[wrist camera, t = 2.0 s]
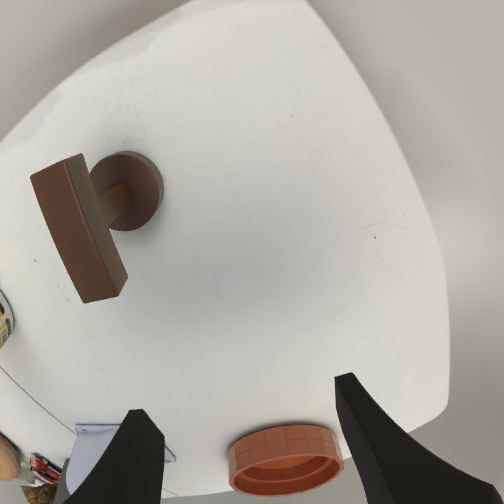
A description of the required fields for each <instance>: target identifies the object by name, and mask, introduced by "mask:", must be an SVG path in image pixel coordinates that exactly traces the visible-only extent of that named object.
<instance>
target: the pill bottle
mask: <svg viewBox="0 0 504 504" xmlns="http://www.w3.org/2000/svg"><path fill="white" fill-rule="evenodd" d="M12 330H13V316H12V312H11V309H10V307H9V305H8V303H7V301H6V299H5V298H4V296H3V295H2V293H1V292H0V349H1V347H2V346H3V344H4V343H5V342H6V340H7V338H8V337H9V335H10V334H11V332H12Z"/></svg>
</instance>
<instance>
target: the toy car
mask: <svg viewBox="0 0 504 504" xmlns="http://www.w3.org/2000/svg"><path fill="white" fill-rule="evenodd" d="M30 465H31V471H32V468H34V469H35V470H36V471H34V470H33V471H32V473H33V474H34V475H36V476H37V477H39V478H40V479H42V480H43V481H45V482H47V483H50V484H56V483H58V484H59V480H60V476H61V473H60V472H59V471H58V472H57V471H56V470H55V469H54V468H52V467H50V466H48V467H47V465H48V461H47V460H46V459H45V458H44V459H42V462H41V459H37V458H35V457H30ZM51 470H53V471H51ZM57 473H58V474H57ZM55 482H56V483H55Z"/></svg>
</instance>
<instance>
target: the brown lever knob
mask: <svg viewBox="0 0 504 504" xmlns="http://www.w3.org/2000/svg"><path fill="white" fill-rule="evenodd" d="M30 179H31V182H32V185H33V188H34V191H35V194H36V197H37V200H38V203H39V205H40V208H41V211H42V213H43V216H44V219H45V221H46V224H47V226H48V229H49V231H50V233H51V236H52V238H53V241H54V243H55V245H56V248H57V250H58V252H59V254H60V257H61V259H62V261H63V263H64V265H65V267H66V269H67V272H68V274H69V276H70V278H71V280H72V282H73V284H74V286H75V288H76V290H77V292H78V294H79V296H80V298H81V300H82V301H83V303H90V302H94V301H99V300H104V299H108V298H113V297H117V296H119V294H120V292H121V290H122V288H123V286H124V284H125V282H126V280H127V279H128V275H127V272H126V270H125V268H124V265H123V263H122V261H121V258H120V256H119V253H118V251H117V249H116V246H115V244H114V241H113V239H112V236H111V234H110V231H109V229H108V228H111V229H113V230H118V231H131V230H135V229H138V228H140V227H142V226H143V225H145V224H146V223H147V222H148V221H149V220H150V219H151V218H152V217H153V215H154V214H155V212H156V211H157V209H158V207H159V206H160V203H161V200H162V197H163V182H162V178H161V175H160V173H159V171H158V169H157V167H156V166H155V165H154V163H153V162H152V161H151V160H149V159H148V158H147V157H145V156H144V155H142V154H140V153H136V152H132V151H122V152H117V153H114V154H112V155H110V156H108V157H105V158H104V159H102V160H100V161H99V162H98V163H97V164H96V165H95V166H94V167H93V169H92V170H91V172H90V174H89V172H88V169H87V166H86V163H85V159H84V156H83V154H82V153H80V154H77V155H75V156H72V157H69V158H67V159H64V160H62V161H60V162H57V163H55V164H53V165H51V166H49V167H47V168H45V169H43V170H41V171H39V172H37V173H35V174H33V175H31V176H30Z"/></svg>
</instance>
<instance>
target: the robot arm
mask: <svg viewBox="0 0 504 504" xmlns="http://www.w3.org/2000/svg"><path fill="white" fill-rule="evenodd" d="M335 396H336V410H337V414H338V418H339V421H340V425H341V428H342V432H343V434H344V437H345V440H346V442H347V445H348V447H349V450H350V452H351V455H352V457H353V459H354V462H355V465H356V467H357V470H358V472H359V475H360V477H361V480H362V483H363V486H364V490H365V494H366V498H367V502H368V504H503V501H502V498H501V496H500V494H499V493H498V491H497V490H496V489H495V487H494V486H493V485H492V484H489V483H487V482H484V481H482V480H480V479H477V478H475V477H473V476H471V475H469V474H467V473H464V472H463V471H461V470H459V469H457V468H455V467H454V466H452V465H450V464H449V463H447V462H445V461H443V460H442V459H440V458H439V457H437V456H436V455H434V454H433V453H431V452H430V451H429V450H427V449H426V448H424V447H423V446H422V445H421V444H419V443H418V442H417V441H415V440H414V439H413V438H412V437H410V436H409V435H408V434H407V433H406V432H405V431H404V430H403V429H402V428H401V427H400V426H398V425H397V424H396V423H395V422H394V421H393V420H392V419H391V418H390V417H389V416H388V415H387V414H386V413H385V411H384V410H383V409H382V408H381V407H380V406H379V405H378V404H377V403H376V402H375V401H374V399H373V398H372V397H371V396H370V395H369V393H368V392H367V391H366V390H365V388H364V387H363V386H362V385H361V383H360V382H359V381H358V379H357V378H356V376H355V375H354V374H353V373H347V374H344V375H340V376H336V377H335ZM74 429H75V430H76V431H77V432H78V434H77V438H76V441H75V444H74V447H73V451H72V454H71V457H70V461H69V464H68V468H67V472H66V483H67V488H68V491H69V493H70V495H71V496H70V497H69V498H68V499H67V500H66V501H65V502H64V503H62V504H160V500H161V490H162V481H163V472H164V463H171V462H176V458H175V457H174V456H173V455H172V454H171V453H170V452H169V450H168V449H167V448H166V447H165V441H164V435H163V434H162V433H161V431H160V430H159V429H158V428H157V426H156V425H155V424H154V423H153V421H152V420H151V419H150V417H149V416H148V415H147V414H146V412H145V411H144V410H143V409H137V410H129V412H128V413H127V415H126V417H125V418H124V420H123V422H122V423H121V425H75V427H74Z"/></svg>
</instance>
